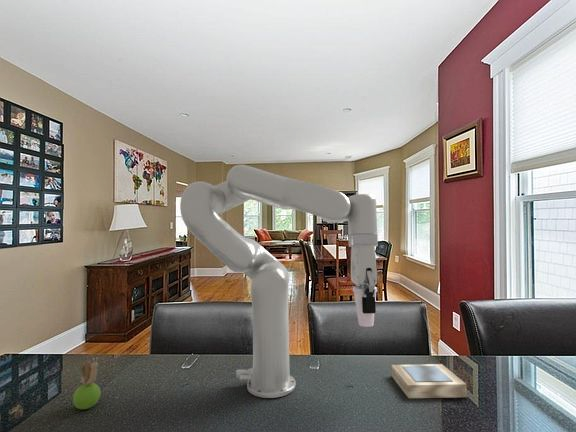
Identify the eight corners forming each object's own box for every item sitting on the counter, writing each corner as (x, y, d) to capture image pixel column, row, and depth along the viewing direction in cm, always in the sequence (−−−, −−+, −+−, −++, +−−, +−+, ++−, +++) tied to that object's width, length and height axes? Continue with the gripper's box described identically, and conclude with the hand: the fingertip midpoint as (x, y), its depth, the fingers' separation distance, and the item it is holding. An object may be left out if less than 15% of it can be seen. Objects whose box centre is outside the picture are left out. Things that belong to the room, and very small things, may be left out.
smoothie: (379, 328, 78) (377, 271, 79) (353, 327, 79) (351, 271, 80) (377, 322, 84) (375, 269, 85) (353, 321, 85) (351, 269, 86)
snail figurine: (81, 418, 68) (83, 361, 69) (67, 410, 72) (69, 356, 73) (107, 406, 73) (108, 353, 74) (92, 399, 76) (94, 349, 77)
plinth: (408, 398, 75) (408, 384, 75) (391, 376, 87) (391, 364, 87) (467, 397, 75) (466, 383, 75) (442, 375, 87) (441, 363, 87)
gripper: (343, 241, 92) (345, 303, 91) (355, 241, 75) (358, 318, 73) (368, 240, 92) (371, 302, 91) (387, 241, 75) (390, 318, 73)
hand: (365, 309), depth 82 cm, fingers closed on smoothie, 6 cm apart
